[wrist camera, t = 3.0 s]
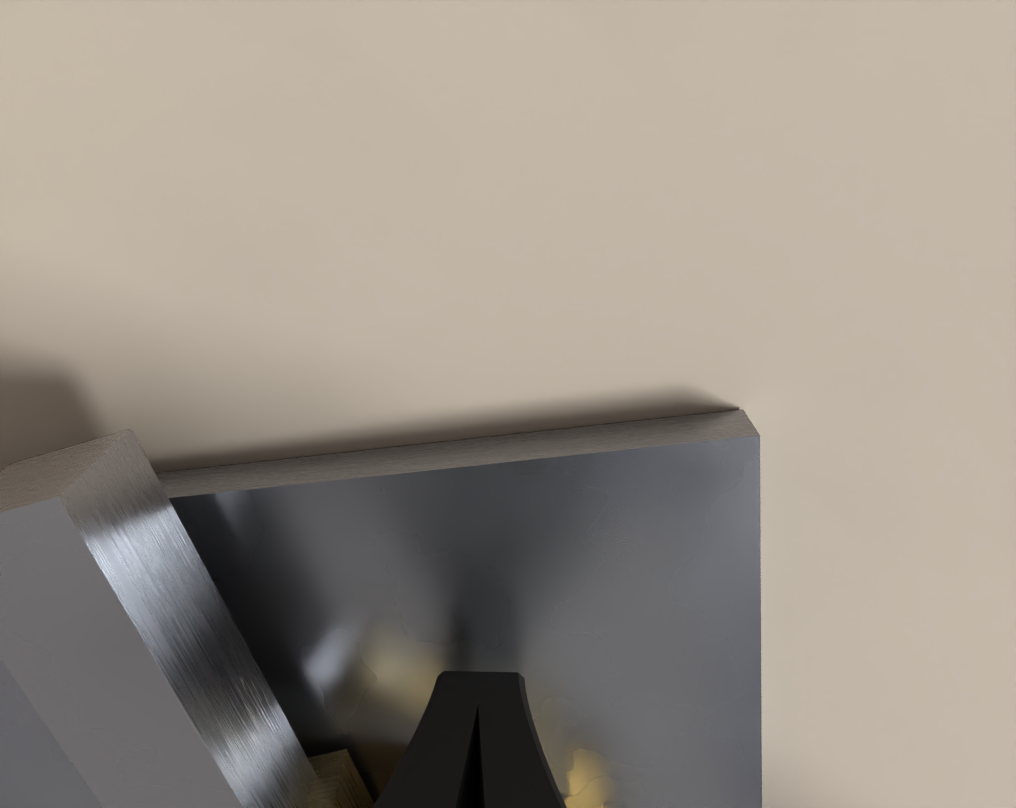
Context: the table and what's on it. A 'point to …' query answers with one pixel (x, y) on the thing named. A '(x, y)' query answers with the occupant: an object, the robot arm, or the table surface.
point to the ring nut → (141, 645)
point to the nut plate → (490, 603)
